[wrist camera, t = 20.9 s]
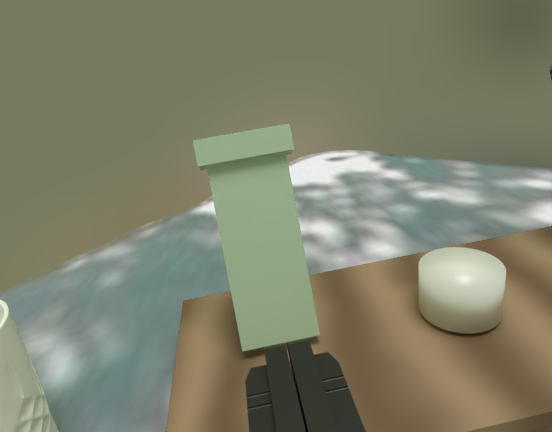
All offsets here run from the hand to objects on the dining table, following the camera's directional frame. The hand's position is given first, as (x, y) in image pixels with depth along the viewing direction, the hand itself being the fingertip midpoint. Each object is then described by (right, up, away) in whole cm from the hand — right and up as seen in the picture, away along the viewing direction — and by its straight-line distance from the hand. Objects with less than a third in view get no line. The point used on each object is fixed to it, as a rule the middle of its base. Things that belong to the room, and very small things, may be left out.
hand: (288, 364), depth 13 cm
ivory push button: (+12, -2, +13) cm, 18 cm away
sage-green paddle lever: (0, -4, +13) cm, 13 cm away
